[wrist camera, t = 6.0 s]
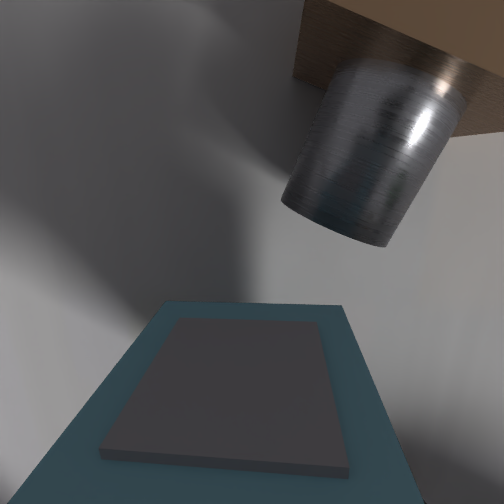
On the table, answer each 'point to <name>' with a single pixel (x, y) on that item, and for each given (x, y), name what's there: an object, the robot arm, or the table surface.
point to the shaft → (390, 103)
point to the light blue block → (231, 417)
